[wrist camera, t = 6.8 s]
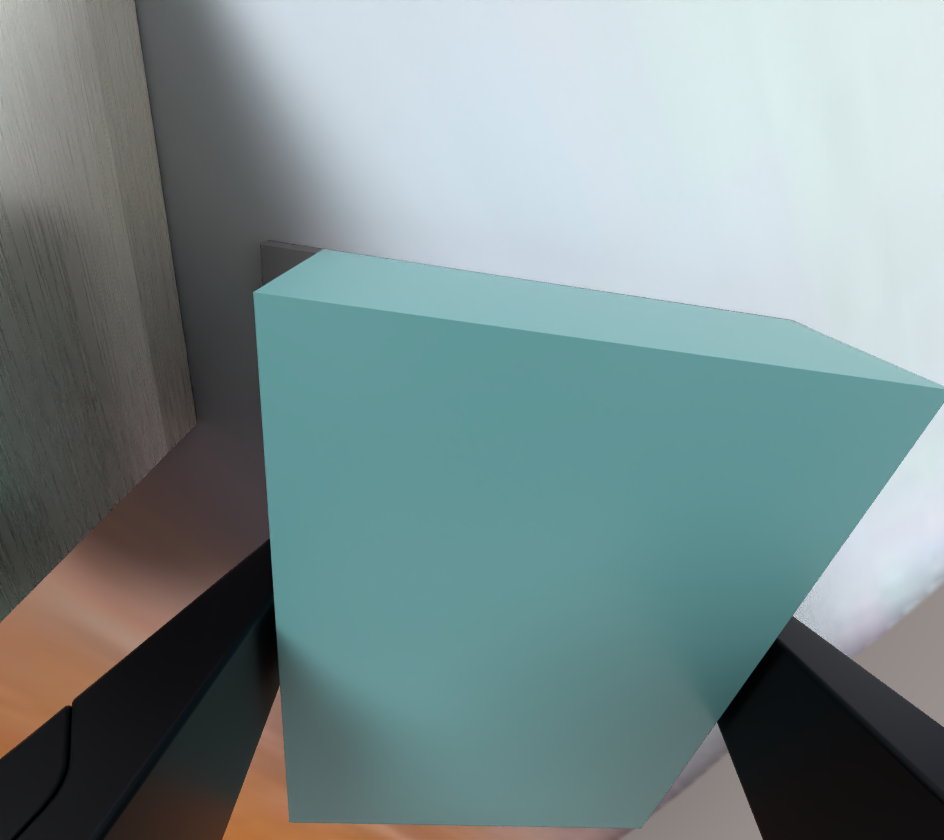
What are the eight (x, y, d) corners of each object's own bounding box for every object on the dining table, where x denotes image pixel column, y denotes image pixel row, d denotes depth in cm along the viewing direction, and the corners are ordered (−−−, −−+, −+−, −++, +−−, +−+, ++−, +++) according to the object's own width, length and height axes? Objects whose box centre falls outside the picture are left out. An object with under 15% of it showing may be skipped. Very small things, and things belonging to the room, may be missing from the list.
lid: (604, 702, 11) (641, 828, 9) (322, 688, 10) (289, 822, 8) (791, 320, 7) (951, 390, 4) (323, 249, 6) (253, 292, 4)
